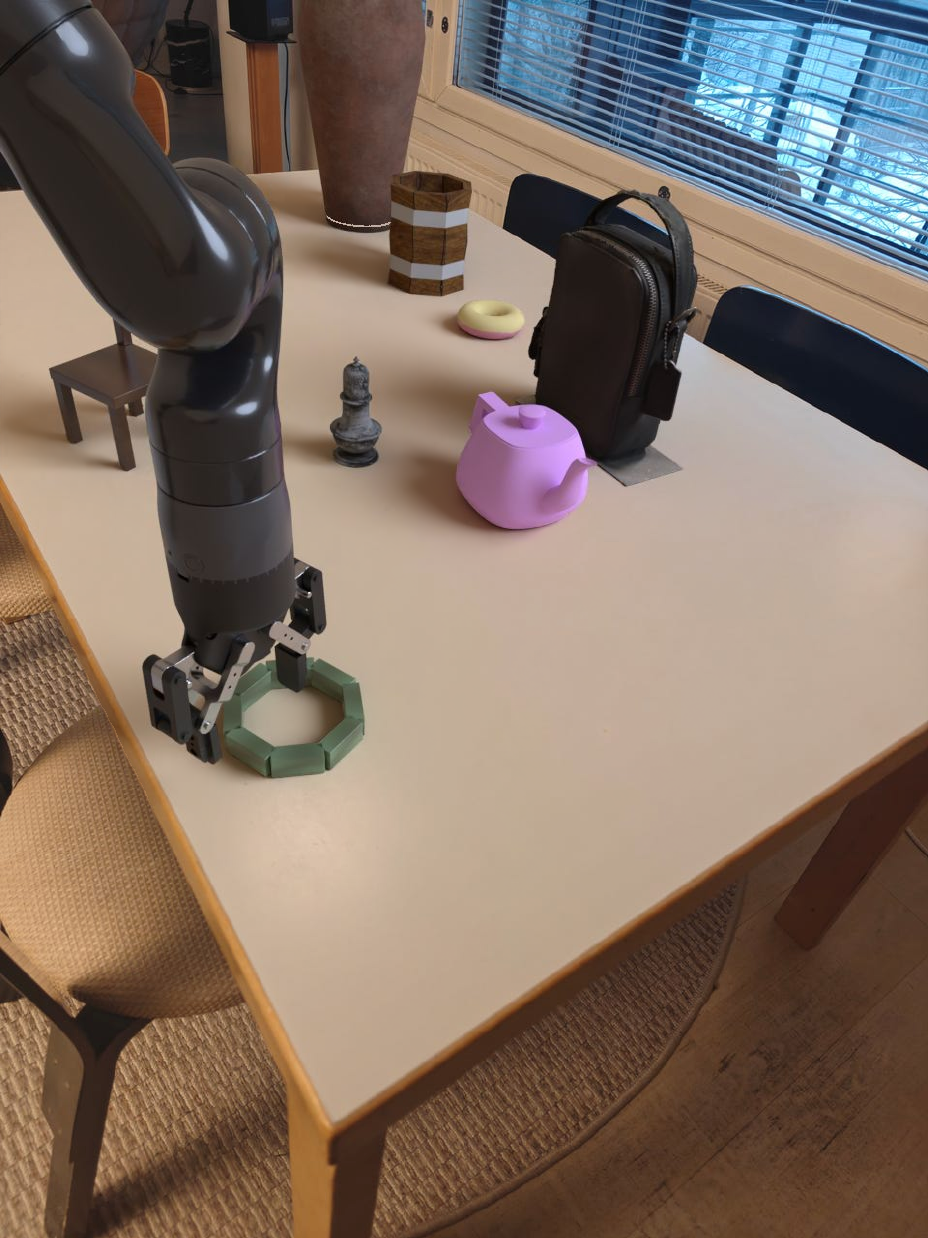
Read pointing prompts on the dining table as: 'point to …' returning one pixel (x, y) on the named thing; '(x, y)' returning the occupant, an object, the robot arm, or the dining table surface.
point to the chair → (107, 388)
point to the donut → (490, 319)
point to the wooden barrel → (428, 232)
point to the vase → (361, 100)
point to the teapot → (522, 464)
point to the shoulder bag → (616, 336)
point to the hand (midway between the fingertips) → (251, 719)
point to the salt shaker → (355, 420)
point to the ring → (301, 755)
